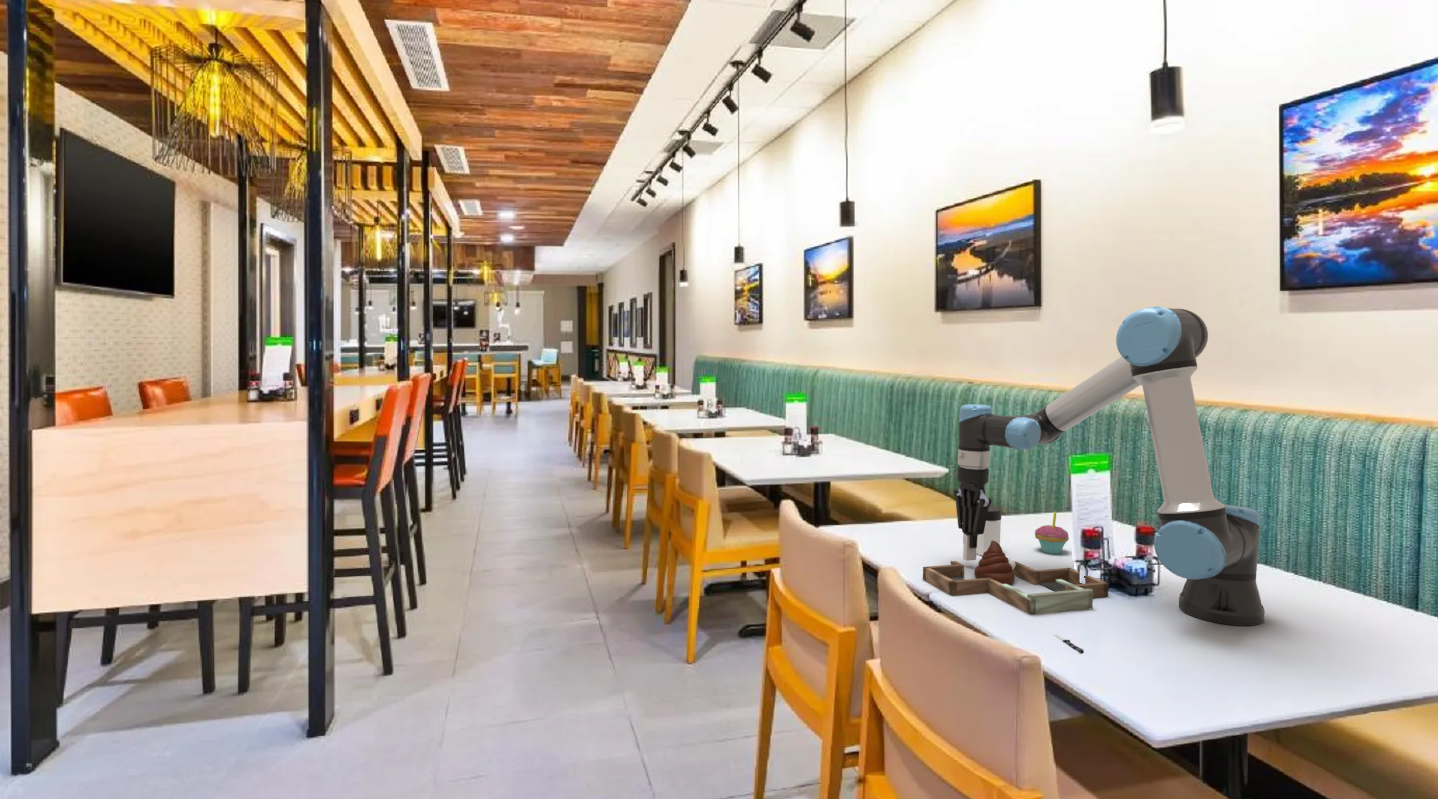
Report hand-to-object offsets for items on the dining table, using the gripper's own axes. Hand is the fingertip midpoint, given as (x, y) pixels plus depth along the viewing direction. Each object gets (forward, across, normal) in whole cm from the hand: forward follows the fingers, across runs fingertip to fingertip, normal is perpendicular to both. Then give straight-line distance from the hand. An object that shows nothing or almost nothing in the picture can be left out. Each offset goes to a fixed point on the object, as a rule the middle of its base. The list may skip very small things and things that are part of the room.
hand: (969, 559), depth 196 cm
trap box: (+2, +19, 0) cm, 19 cm away
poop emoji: (+2, +11, 0) cm, 11 cm away
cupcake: (+2, -7, +30) cm, 31 cm away
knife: (+2, +44, -11) cm, 45 cm away
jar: (+2, -11, +12) cm, 17 cm away
